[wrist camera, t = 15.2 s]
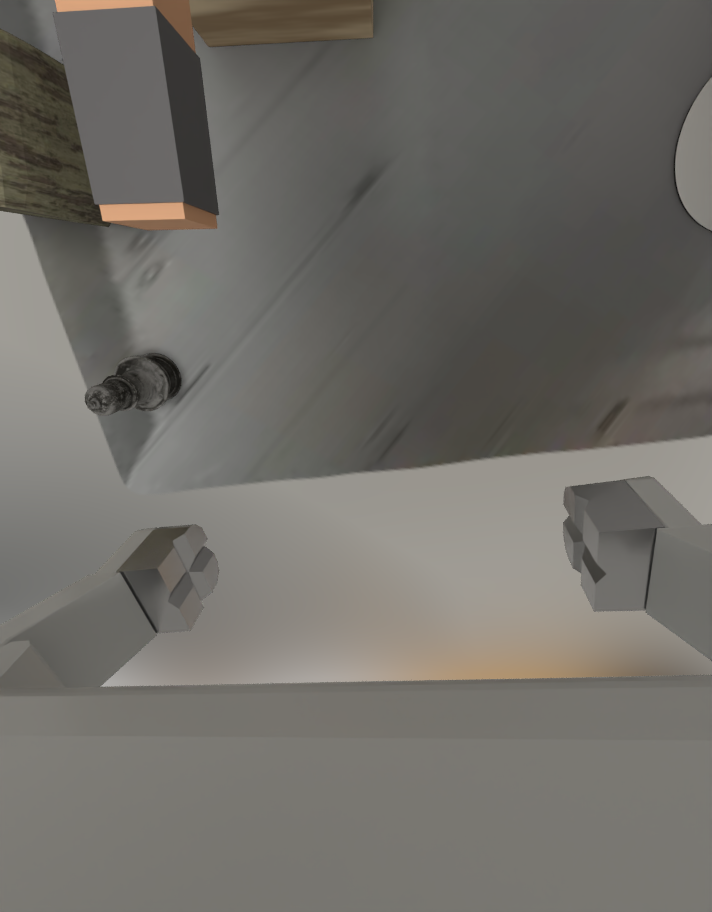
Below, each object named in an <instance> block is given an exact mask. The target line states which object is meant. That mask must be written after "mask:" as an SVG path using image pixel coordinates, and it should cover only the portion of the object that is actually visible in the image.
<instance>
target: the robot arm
mask: <svg viewBox="0 0 712 912" xmlns="http://www.w3.org/2000/svg"><path fill="white" fill-rule="evenodd" d="M675 176H676V183H677V188H678V192H679V195H680V198H681V200H682V202H683V204H684V206H685V208H686V210H687V211H688V212H689V214H690V215H691V216H692V217H693V218H694V219H695V220H696V221H697V222H698V223H699V224H701V225H702V226H704V227H705V228H707V229H709V230H711V231H712V77H711V78H710V80H709V81H708V82H707V83H706V85H705V86H704V88H703V89H702V90H701V92H700V93H699V95H698V97H697V98H696V100H695V101H694V103H693V105H692V107H691V109H690V111H689V113H688V115H687V117H686V120H685V122H684V125H683V128H682V130H681V134H680V137H679V141H678V145H677V151H676V159H675ZM564 506H565V508H566V510H567V512H568V513H569V516H568V518H567V519H566V520H565V521H564V522H563V533H564V535H563V536H564V542H565V548H566V552H567V555H568V558H569V561H570V563H571V565H572V567H573V569H575V570H577V571H578V572H580V573H581V586H582V588H583V590H584V592H585V594H586V596H587V598H588V600H589V602H590V604H591V606H592V608H593V610H594V611H636V610H646V613H647V614H648V615H650V616H651V617H652V618H654V619H655V620H657V621H658V622H659V623H661V624H662V625H664V626H665V627H666V628H668V629H669V630H670V631H671V632H673V633H675V634H676V635H677V636H678V637H680V638H681V639H682V640H684V641H685V642H687V643H688V644H689V645H691V646H692V647H694V648H695V649H696V650H697V651H699V652H700V653H702V654H703V655H705V656H706V657H707V658H708V659H710V660H711V661H712V524H707V525H702V524H701V523H700V522H699V521H697V519H695V518H694V516H693V515H691V513H689V512H688V510H686V509H685V508H684V507H683V506H682V505H681V504H680V503H679V502H678V501H677V500H676V499H675V498H674V497H673V496H672V495H671V494H670V493H669V492H668V491H667V490H666V489H665V488H664V487H663V486H662V485H661V484H660V483H659V482H658V481H657V480H656V479H655V478H653V477H650V476H646V477H638V478H631V479H624V480H619V481H611V482H603V483H594V484H586V485H578V486H570V487H566V488H565V491H564ZM206 541H207V537H206V535H205V533H204V531H203V529H202V527H200V526H198V525H183V526H170V527H160V528H148V529H142V530H138V531H135V532H134V533H133V534H132V535H131V536H130V537H129V538H128V539H127V540H126V542H125V543H124V544H123V545H122V546H121V547H120V548H119V549H118V550H117V551H116V552H115V553H114V554H113V555H112V556H111V557H110V558H109V560H107V561H106V563H105V564H104V565H103V566H102V567H101V568H100V569H99V570H98V571H97V572H96V573H95V574H94V575H87V576H86V577H84V578H82V579H81V580H79V581H77V582H75V583H73V584H72V585H70V586H68V587H66V588H65V589H63V590H61V591H59V592H57V593H56V594H54V595H53V596H50V597H49V598H47V599H45V600H43V601H42V602H40V603H38V604H36V605H35V606H33V607H31V608H29V609H28V610H26V611H24V612H22V613H20V614H19V615H17V616H15V617H13V618H12V619H10V620H8V621H6V622H5V623H3V624H1V625H0V912H712V675H682V676H681V675H679V676H635V677H634V676H632V677H588V678H587V677H586V678H542V679H541V678H540V679H483V680H425V681H371V682H325V683H324V682H320V683H275V684H274V683H272V684H224V685H223V684H222V685H176V686H175V685H174V686H173V685H171V686H124V687H123V686H121V687H100V686H101V685H103V684H104V683H105V682H106V681H107V680H108V679H109V678H110V677H111V676H113V675H114V673H116V672H117V671H118V670H119V669H120V668H121V667H122V666H124V665H125V664H126V663H127V662H128V661H129V660H130V659H131V658H132V657H133V656H135V655H136V654H137V653H138V652H139V651H140V650H141V649H142V648H143V647H144V646H146V644H148V643H149V642H150V641H151V640H152V639H153V638H154V637H155V636H156V635H157V634H156V633H168V632H182V631H191V629H192V627H193V626H194V624H195V622H196V620H197V619H198V617H199V615H200V613H201V611H202V610H203V608H204V606H203V602H202V600H203V599H204V598H206V597H207V596H208V595H210V594H211V593H212V592H213V590H214V588H215V586H216V584H217V581H218V574H219V567H218V561H217V559H216V557H215V554H214V553H213V552H212V551H210V550H209V549H208V548H207V547H205V545H206Z"/></svg>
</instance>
